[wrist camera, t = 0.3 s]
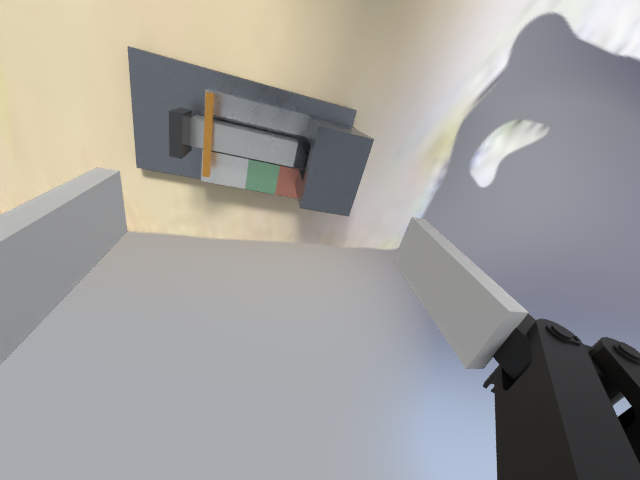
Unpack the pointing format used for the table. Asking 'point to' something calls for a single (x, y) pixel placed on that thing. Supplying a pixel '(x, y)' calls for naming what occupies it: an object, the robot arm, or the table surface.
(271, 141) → the orange-striped grey block
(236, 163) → the gauge base
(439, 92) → the table surface
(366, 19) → the table surface
